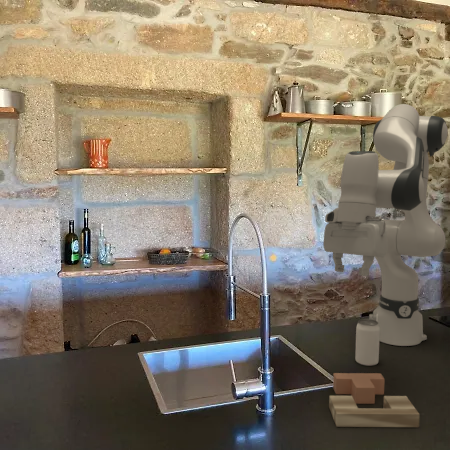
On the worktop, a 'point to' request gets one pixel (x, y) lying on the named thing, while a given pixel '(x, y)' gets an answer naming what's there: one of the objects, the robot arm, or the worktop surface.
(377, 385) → the t block
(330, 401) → the dock
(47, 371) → the worktop surface
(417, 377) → the worktop surface
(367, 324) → the can
